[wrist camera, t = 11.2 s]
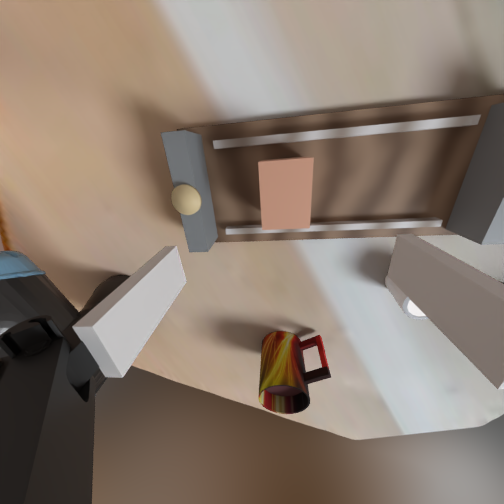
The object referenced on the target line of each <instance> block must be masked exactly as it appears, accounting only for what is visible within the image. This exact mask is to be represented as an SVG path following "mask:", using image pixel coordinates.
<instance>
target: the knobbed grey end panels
mask: <svg viewBox="0 0 504 504" xmlns="http://www.w3.org/2000/svg"><path fill="white" fill-rule="evenodd" d="M161 136H162V140H163V144H164V148H165V152H166V157H167V161H168V165H169V169H170V173H171V177H172V182H173V186H174V190H173V191H172V194H171V201H172V204H173V206H174V208H175V209H176V210H177V211H178V212H180V215H181V219H182V223H183V227H184V231H185V236H186V240H187V244H188V248H189V252H208V251H209V250H210V248H211V247H212V245H213V244H214V242H215V241H216V239H217V238H218V234H217V228H216V222H215V216H214V210H213V204H212V197H211V191H210V185H209V179H208V173H207V167H206V161H205V155H204V149H203V142H202V136H201V135H200V134H196V133H193V132H189V131H186V130H182V131H172V132H163V133H161ZM446 230H449V231H451V232H453V233H456V234H458V235H460V236H462V237H465V238H467V239H469V240H472V241H474V242H476V243H479V244H481V245H485V244H504V102H503V103H499V104H495V105H492V106H491V108H490V111H489V114H488V116H487V119H486V122H485V124H484V127H483V130H482V132H481V135H480V138H479V140H478V143H477V146H476V148H475V151H474V154H473V156H472V159H471V162H470V164H469V167H468V170H467V172H466V175H465V178H464V180H463V183H462V186H461V188H460V191H459V194H458V196H457V199H456V202H455V204H454V207H453V210H452V212H451V215H450V218H449V220H448V223H447V226H446Z"/></svg>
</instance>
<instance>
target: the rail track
mask: <svg viewBox="0 0 504 504" xmlns="http://www.w3.org/2000/svg"><path fill="white" fill-rule="evenodd" d="M503 102H504V94H500V95H491V96H481V97H472V98H463V99H454V100H444V101H435V102H426V103H416V104H407V105H398V106H388V107H379V108H370V109H361V110H351V111H342V112H333V113H323V114H314V115H305V116H295V117H286V118H277V119H267V120H258V121H249V122H240V123H230V124H221V125H212V126H202V127H193V128H184V129H177V131H182V130H186V131H189V132H193V133H196V134H200V135H201V136H202V142H203V149H204V155H205V161H206V167H207V173H208V179H209V185H210V191H211V197H212V204H213V210H214V216H215V222H216V228H217V234H218V238H217V239H216V241H215V242H240V241H272V240H303V239H334V238H365V237H396V236H397V235H398V234H413V235H415V236H427V235H458V234H456V233H453V232H451V231H449V230H446V226H447V223H448V220H449V218H450V215H451V212H452V210H453V207H454V204H455V202H456V199H457V196H458V194H459V191H460V188H461V186H462V183H463V180H464V178H465V175H466V172H467V170H468V167H469V164H470V162H471V159H472V156H473V154H474V151H475V148H476V146H477V143H478V140H479V138H480V135H481V132H482V130H483V127H484V124H485V122H486V119H487V116H488V114H489V111H490V108H491V106H492V105H495V104H499V103H503ZM296 157H314V163H313V181H312V199H311V217H310V228H303V229H277V230H262V220H261V203H260V185H259V168H258V162H259V161H262V160H272V159H284V158H296Z"/></svg>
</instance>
